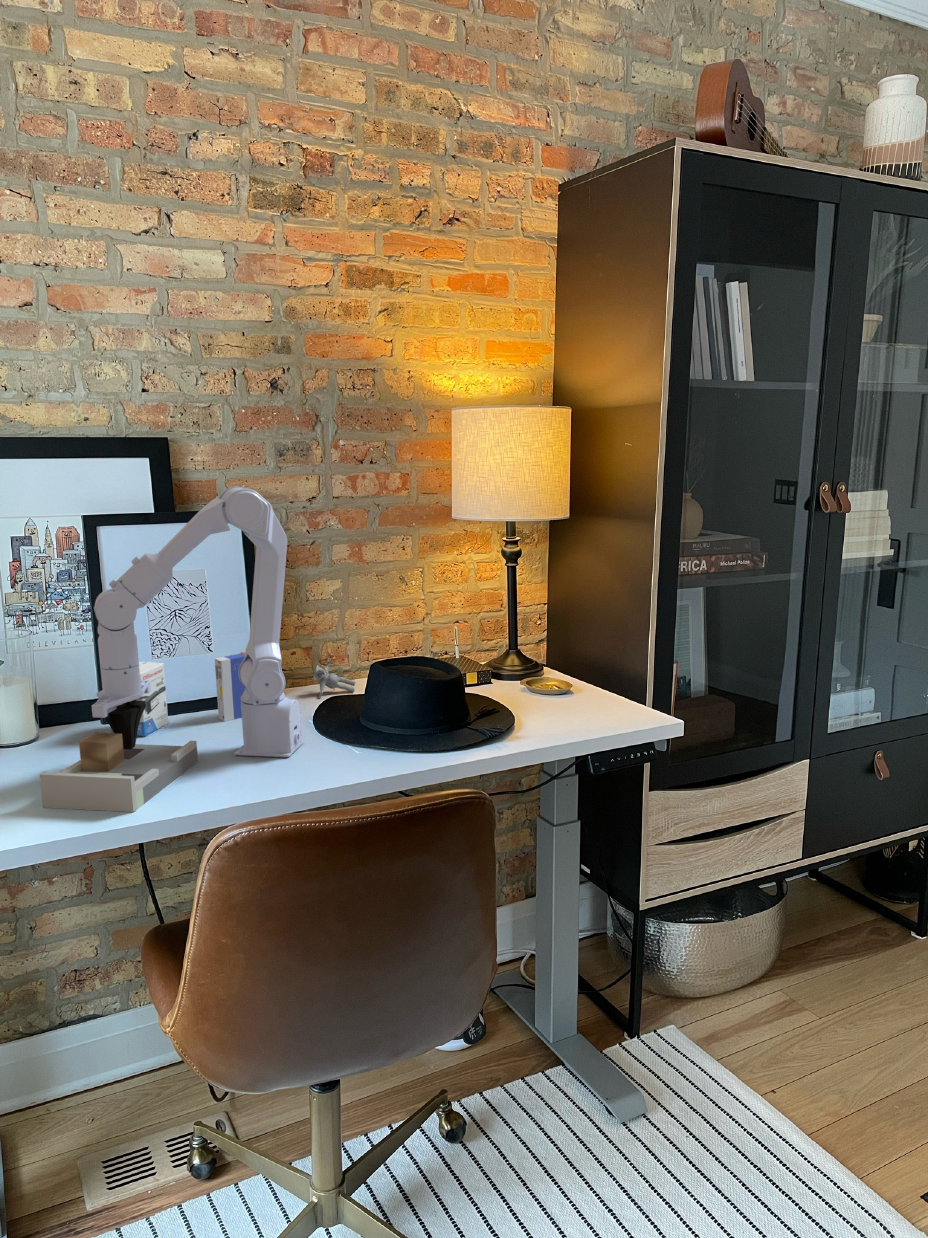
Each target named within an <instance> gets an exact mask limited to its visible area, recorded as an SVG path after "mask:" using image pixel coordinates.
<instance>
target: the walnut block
mask: <svg viewBox="0 0 928 1238" xmlns="http://www.w3.org/2000/svg"><path fill="white" fill-rule="evenodd" d="M78 745H79V746H78V747H79V756H80V760H81V768H82V770H92V771H110V770H112V769H113V768H115V767H116V766H118V765H119V764H121V763H122V762H124V750H123V739H122V734H117V733H113V732H94V733H92V734H90V735H88V736H87V737H84V738H82V739H81V740H79V742H78Z"/></svg>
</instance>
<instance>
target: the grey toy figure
mask: <svg viewBox="0 0 928 1238" xmlns="http://www.w3.org/2000/svg"><path fill="white" fill-rule="evenodd" d="M330 662H331V660H330V658H327V660H326V663H325V667H324V669H323V668H322V667H320V666H319V665H318V664H317V665H316V666H315V669H314V671H313V676H312V677H313V679H312V681H313V682H318V683H319V690H320V691H319V699H321V698H322V696H323V694H324V689H325V687H327V688H329V689H333V690H334V691H336V688H337V689H341V690H345V691H348V692H350V693H354V692H355V690H356V687H355V686H356V683H357V681H356V680H353V679H348V678H345V677H343V676H338V675H337V674H335V673H330V672H329V665H330Z"/></svg>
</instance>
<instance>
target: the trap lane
mask: <svg viewBox="0 0 928 1238" xmlns="http://www.w3.org/2000/svg"><path fill="white" fill-rule="evenodd" d="M197 743H198V742H197V740H190V741H188V742H186V744H184V745H168V744H167V745H166V744H165V745H162V744H142V743H141V744H138V743H137V744H135V747H134V748H132V749H123V750H124V762H122V763H121V764H119V765H118V766H116V767H115V768H113V769H112V770H110V771H92V770H82V768H81V759H79V760H78V761H76V762H75V763H73V764H71V765H70V766H68V767H66V768H65V769H63V770H62V771H59V772H53V771H52V772H50V771H49V772H48V771H43V772H41V773H39V774H38V775H39V780H40V783H39V784H40V791H41V800H42V808H47V809H48V808H49V809H53V808H54V809H64V810H65V809H67V810H68V809H69V810H83V811H84V810H88V811H103V812H106V811H107V812H122V813H123V812H124V813H125V812H126V813H127V812H128V813H134V812H136V811H137V810H138V809H139V808H141V807H143V805H144V804H146V803H147V802H148V801H150V800H151V799H152V798H153V797H155V796H156V795H158V793H160V792H161V791H162V790H164V789H165V788H166V787H167V786H169V785H170V784H172V782H174V781H175V780H176V779H178V778H179V777H180V776H181V775H183V773H185V772H186V771H188V770H189V769H190V768H192V766H194V765H195V764H196V763H197V762H199V759H198V757H199V756H198V746H197Z"/></svg>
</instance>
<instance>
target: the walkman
mask: <svg viewBox="0 0 928 1238" xmlns="http://www.w3.org/2000/svg"><path fill="white" fill-rule="evenodd" d="M245 654H246V650H244V651H240V653H236V654H230V655H225V656H221V657H215V658H214V667H215V683H216V697H217V712H218V713H217V714H218V715H217V716H218V719H219V720H221V721H223V722H228V721H232V720H237V719H240V718H241V719H242V711H241V696H242V694H243V693H244V690H245V688H246V687H245V686H244V685H243V684H242V683H241V681H240V679H239V674H238V672H239V667H240V665H241V663H242V662H243V660H244V658H245Z"/></svg>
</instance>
